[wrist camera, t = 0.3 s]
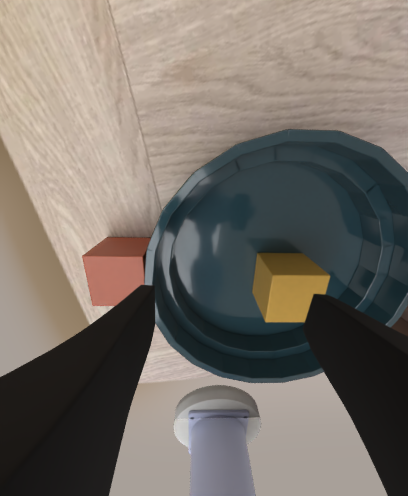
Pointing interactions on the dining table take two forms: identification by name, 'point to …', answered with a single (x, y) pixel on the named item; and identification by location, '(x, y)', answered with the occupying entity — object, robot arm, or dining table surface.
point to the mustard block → (287, 285)
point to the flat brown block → (402, 323)
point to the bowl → (277, 247)
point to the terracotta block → (115, 269)
